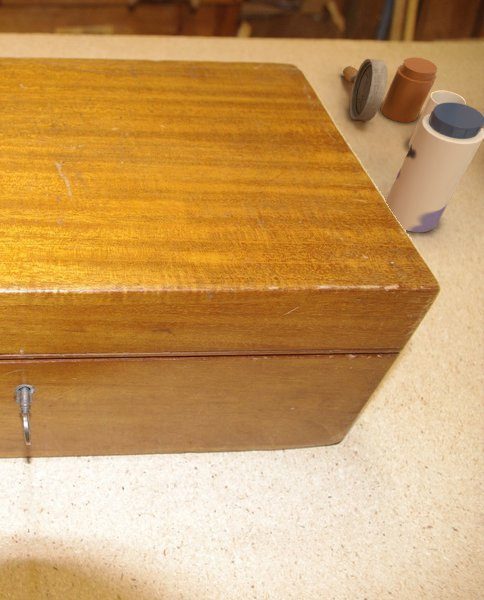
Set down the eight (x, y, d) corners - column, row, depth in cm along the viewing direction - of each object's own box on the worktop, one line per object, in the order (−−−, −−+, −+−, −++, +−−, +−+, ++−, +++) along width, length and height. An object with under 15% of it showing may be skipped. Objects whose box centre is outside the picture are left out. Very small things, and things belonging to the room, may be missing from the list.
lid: (419, 116, 123) (423, 105, 122) (459, 110, 125) (464, 99, 123) (447, 141, 118) (453, 131, 116) (489, 135, 119) (495, 124, 118)
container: (385, 194, 140) (425, 105, 126) (438, 207, 137) (486, 118, 123) (378, 223, 134) (420, 134, 120) (435, 238, 131) (484, 148, 117)
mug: (442, 160, 149) (468, 110, 140) (408, 155, 150) (433, 105, 141) (435, 133, 155) (460, 84, 146) (403, 129, 156) (426, 80, 147)
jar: (423, 113, 161) (446, 66, 152) (406, 126, 157) (429, 78, 148) (391, 99, 165) (411, 52, 156) (374, 111, 161) (394, 64, 152)
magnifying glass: (349, 43, 168) (377, 65, 146) (362, 44, 167) (392, 67, 146) (334, 97, 174) (359, 126, 153) (346, 98, 174) (373, 128, 153)
